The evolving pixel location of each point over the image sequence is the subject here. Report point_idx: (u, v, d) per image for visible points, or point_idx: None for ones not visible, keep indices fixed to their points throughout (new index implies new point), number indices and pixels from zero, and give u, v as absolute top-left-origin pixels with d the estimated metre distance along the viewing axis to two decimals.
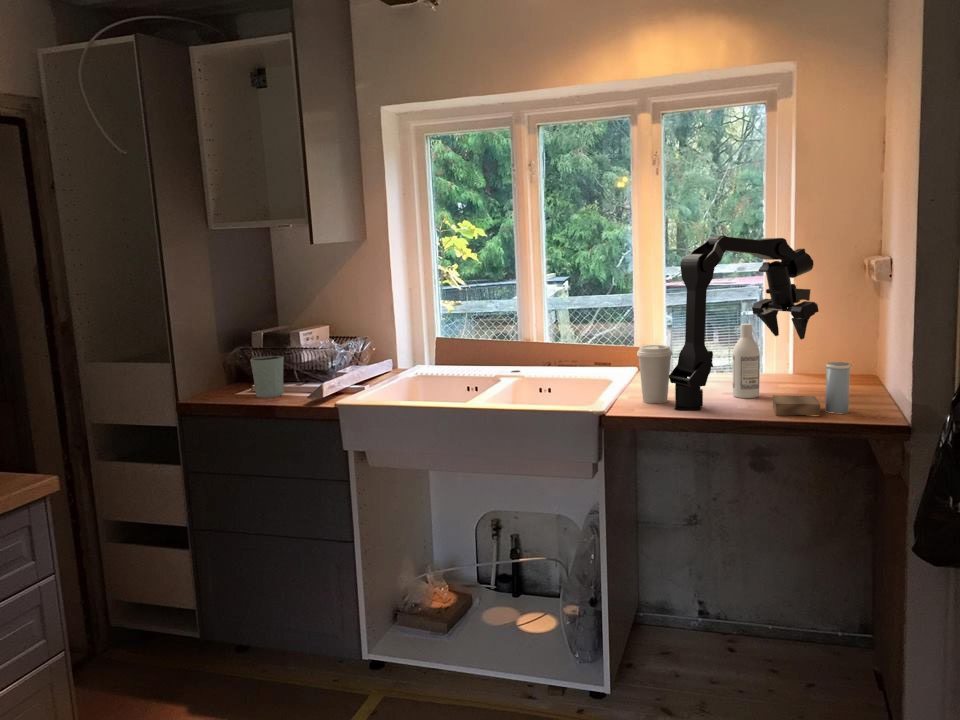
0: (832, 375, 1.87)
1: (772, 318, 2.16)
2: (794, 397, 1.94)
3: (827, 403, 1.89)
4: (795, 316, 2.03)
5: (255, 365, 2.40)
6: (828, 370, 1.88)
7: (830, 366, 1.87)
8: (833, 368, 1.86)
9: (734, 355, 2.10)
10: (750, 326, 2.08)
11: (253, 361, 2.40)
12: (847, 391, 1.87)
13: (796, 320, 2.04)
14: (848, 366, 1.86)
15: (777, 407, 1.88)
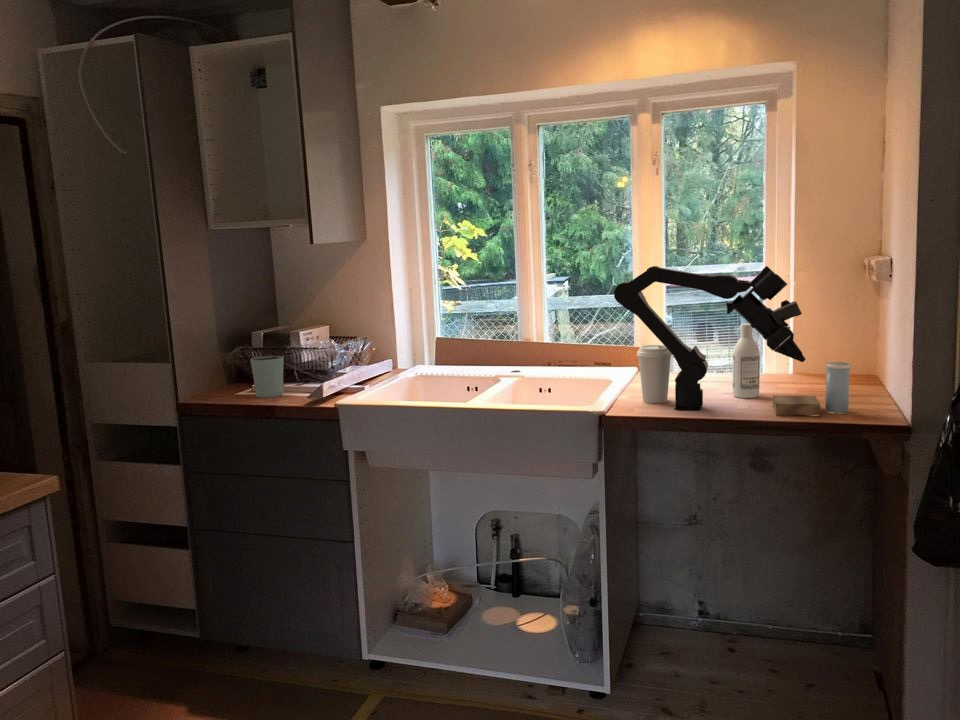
0: (832, 375, 1.87)
1: None
2: (794, 397, 1.94)
3: (827, 403, 1.89)
4: None
5: (255, 365, 2.40)
6: (828, 370, 1.88)
7: (830, 366, 1.87)
8: (833, 368, 1.86)
9: (735, 355, 2.10)
10: (750, 326, 2.08)
11: (253, 361, 2.40)
12: (847, 391, 1.87)
13: None
14: (848, 366, 1.86)
15: (777, 407, 1.88)
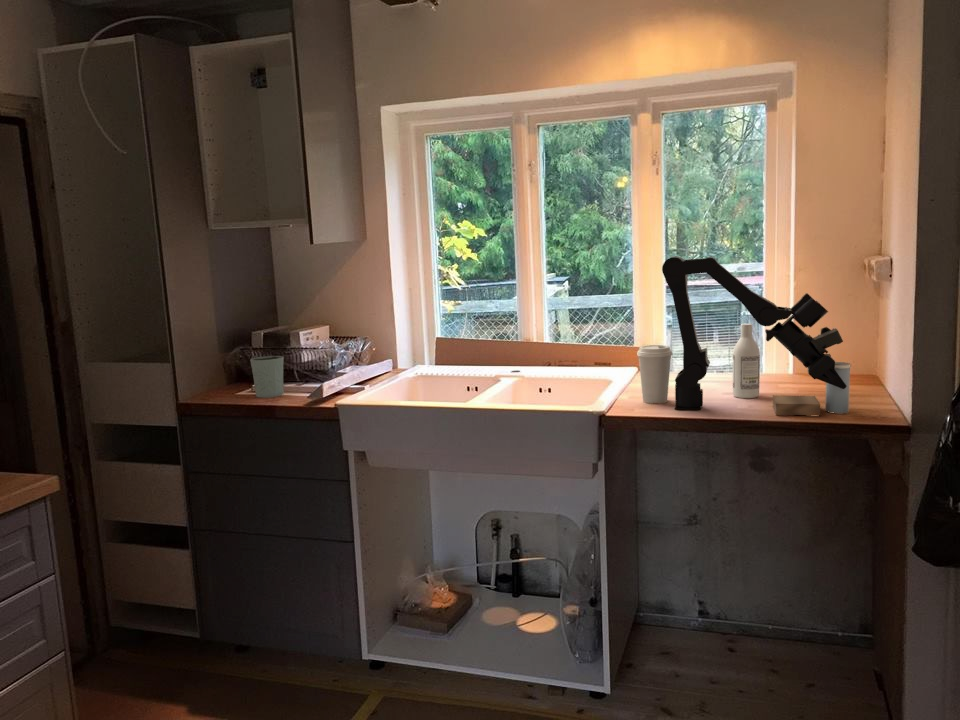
0: None
1: None
2: (794, 397, 1.94)
3: (827, 403, 1.89)
4: None
5: (255, 365, 2.40)
6: None
7: None
8: None
9: (735, 355, 2.10)
10: (750, 326, 2.08)
11: (253, 361, 2.40)
12: (847, 391, 1.87)
13: None
14: (848, 366, 1.86)
15: (777, 407, 1.88)
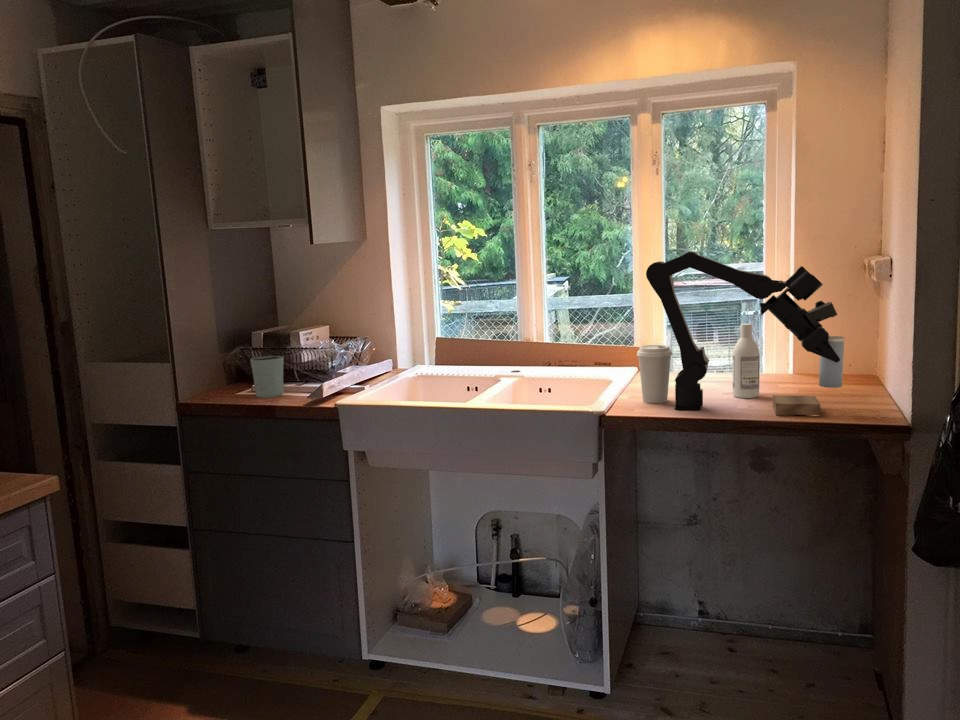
0: None
1: None
2: (794, 397, 1.94)
3: (821, 377, 1.89)
4: None
5: (255, 365, 2.40)
6: None
7: None
8: None
9: (734, 355, 2.10)
10: (750, 326, 2.08)
11: (253, 361, 2.40)
12: (841, 365, 1.86)
13: (810, 351, 1.85)
14: (842, 339, 1.85)
15: (777, 407, 1.88)
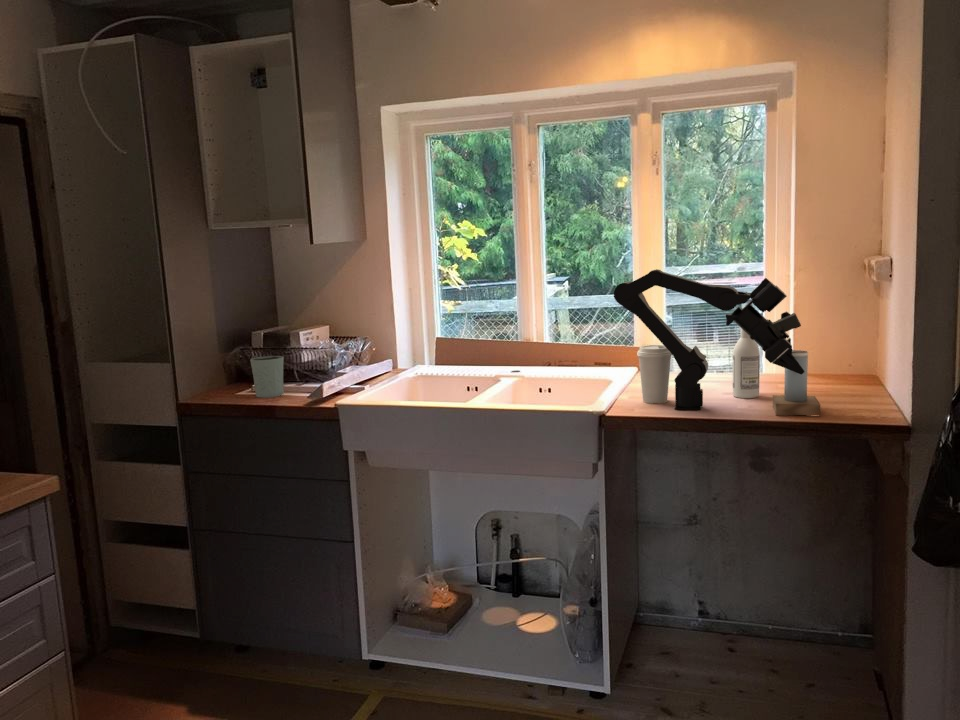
0: None
1: None
2: None
3: (785, 391, 1.91)
4: None
5: (255, 365, 2.40)
6: None
7: None
8: None
9: (734, 355, 2.10)
10: None
11: (253, 361, 2.40)
12: (805, 379, 1.89)
13: (774, 363, 1.86)
14: (805, 354, 1.88)
15: (777, 407, 1.88)
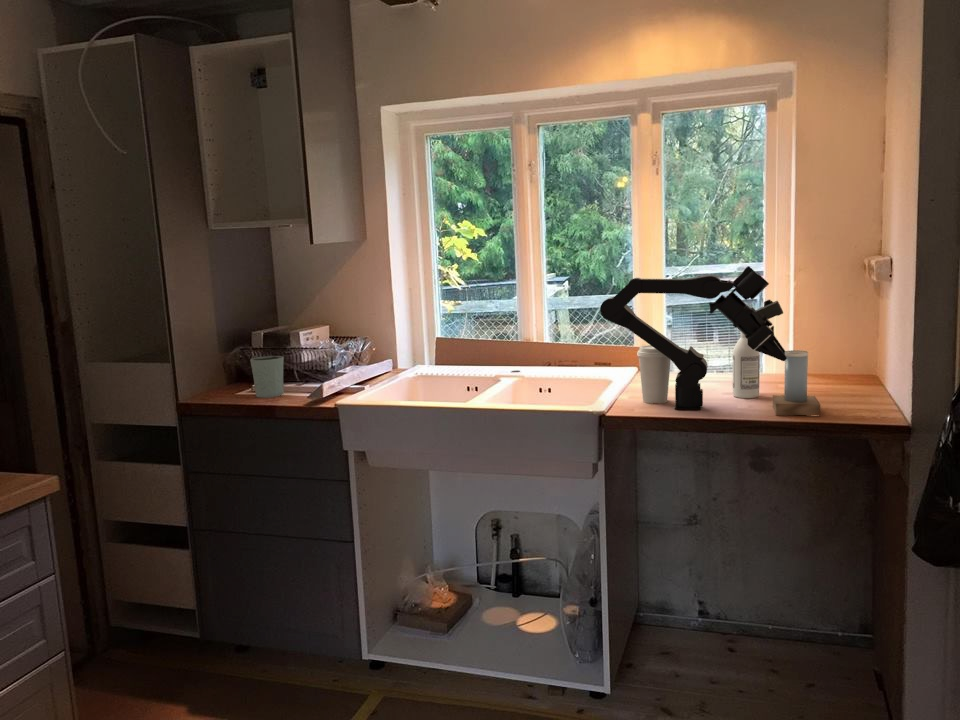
0: (790, 363, 1.89)
1: None
2: None
3: (785, 391, 1.91)
4: None
5: (255, 365, 2.40)
6: None
7: (788, 354, 1.89)
8: (791, 356, 1.88)
9: (734, 355, 2.10)
10: None
11: (253, 361, 2.40)
12: (805, 379, 1.89)
13: (756, 350, 1.87)
14: (805, 354, 1.88)
15: (777, 407, 1.88)
